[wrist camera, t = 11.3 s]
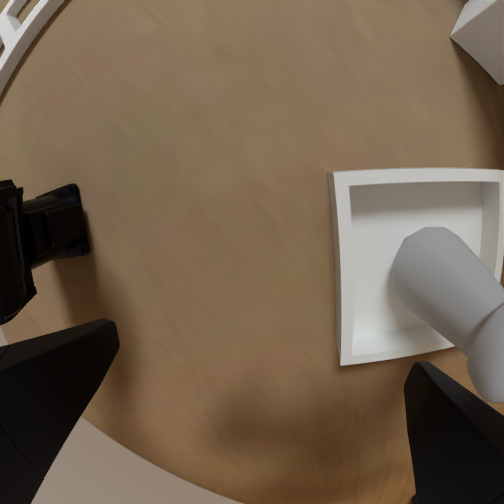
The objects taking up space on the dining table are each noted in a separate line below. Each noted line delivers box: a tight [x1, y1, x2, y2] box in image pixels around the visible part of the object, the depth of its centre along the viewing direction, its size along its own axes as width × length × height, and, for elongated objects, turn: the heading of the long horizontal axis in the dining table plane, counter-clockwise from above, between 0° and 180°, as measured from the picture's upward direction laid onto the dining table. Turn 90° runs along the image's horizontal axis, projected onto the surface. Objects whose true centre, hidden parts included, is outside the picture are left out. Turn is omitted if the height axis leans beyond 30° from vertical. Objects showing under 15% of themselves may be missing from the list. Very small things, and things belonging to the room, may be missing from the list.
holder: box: [0, 0, 65, 95], centre depth 15 cm, size 45×18×3 cm, turn 130°
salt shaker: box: [392, 227, 504, 403], centre depth 12 cm, size 6×6×13 cm
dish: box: [327, 167, 504, 366], centre depth 17 cm, size 13×13×3 cm
